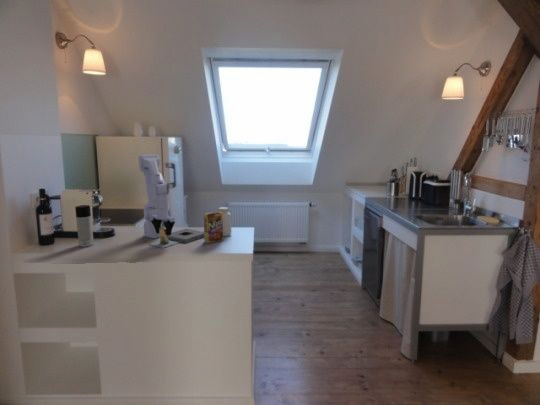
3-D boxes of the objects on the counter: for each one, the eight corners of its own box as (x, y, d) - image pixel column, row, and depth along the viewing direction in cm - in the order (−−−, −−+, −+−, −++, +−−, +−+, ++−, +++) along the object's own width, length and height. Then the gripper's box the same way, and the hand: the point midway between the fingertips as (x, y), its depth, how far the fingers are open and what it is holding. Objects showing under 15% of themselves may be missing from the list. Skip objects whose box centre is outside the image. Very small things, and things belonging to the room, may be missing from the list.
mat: (149, 245, 189) (149, 244, 189) (165, 240, 198) (165, 239, 198) (163, 248, 184) (163, 247, 184) (178, 243, 192) (178, 242, 192)
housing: (164, 238, 201) (163, 235, 201) (186, 232, 214) (185, 228, 214) (185, 243, 192) (185, 239, 192) (207, 236, 205) (207, 232, 205)
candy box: (207, 243, 191) (206, 214, 188) (204, 241, 194) (203, 212, 192) (223, 241, 196) (222, 212, 193) (219, 239, 199) (218, 210, 197)
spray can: (96, 244, 192) (93, 205, 189) (86, 247, 186) (82, 207, 182) (86, 242, 194) (82, 204, 191) (75, 246, 188) (71, 206, 184)
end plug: (158, 243, 190) (157, 228, 189) (165, 241, 194) (164, 226, 193) (164, 244, 188) (163, 229, 187) (171, 242, 192) (170, 227, 190)
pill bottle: (219, 237, 203) (219, 209, 200) (214, 233, 210) (213, 207, 207) (233, 235, 206) (233, 208, 204) (228, 232, 213) (227, 206, 211)
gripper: (145, 207, 188) (147, 234, 191) (165, 210, 180) (167, 238, 183) (157, 205, 194) (158, 231, 196) (177, 208, 186) (178, 234, 189)
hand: (163, 234), depth 190 cm, fingers open, 7 cm apart
